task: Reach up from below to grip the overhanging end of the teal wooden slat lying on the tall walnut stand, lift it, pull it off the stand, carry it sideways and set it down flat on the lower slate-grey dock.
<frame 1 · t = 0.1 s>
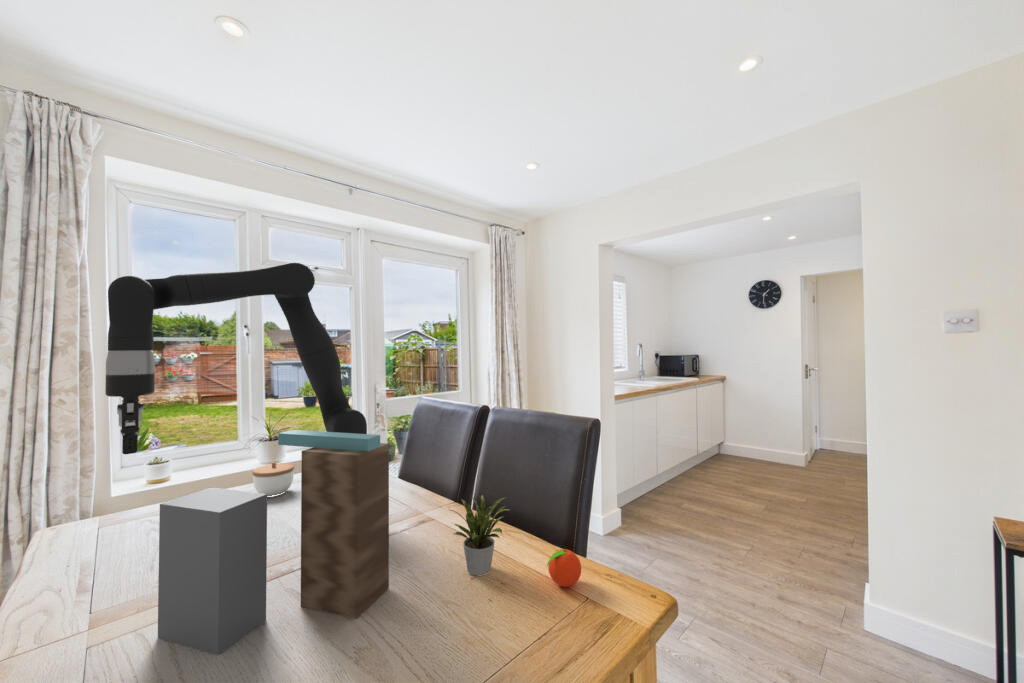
hand: (130, 450, 85), 29 cm above the table, tool pointing down, fingers open, 8 cm apart
house plant: (485, 570, 91), on the table
lidded bowl: (273, 494, 142), on the table
dock: (213, 628, 72), on the table
slat: (328, 445, 84), point 30 cm above the table, touching stand
stand: (319, 591, 83), on the table
clementine: (562, 585, 85), on the table
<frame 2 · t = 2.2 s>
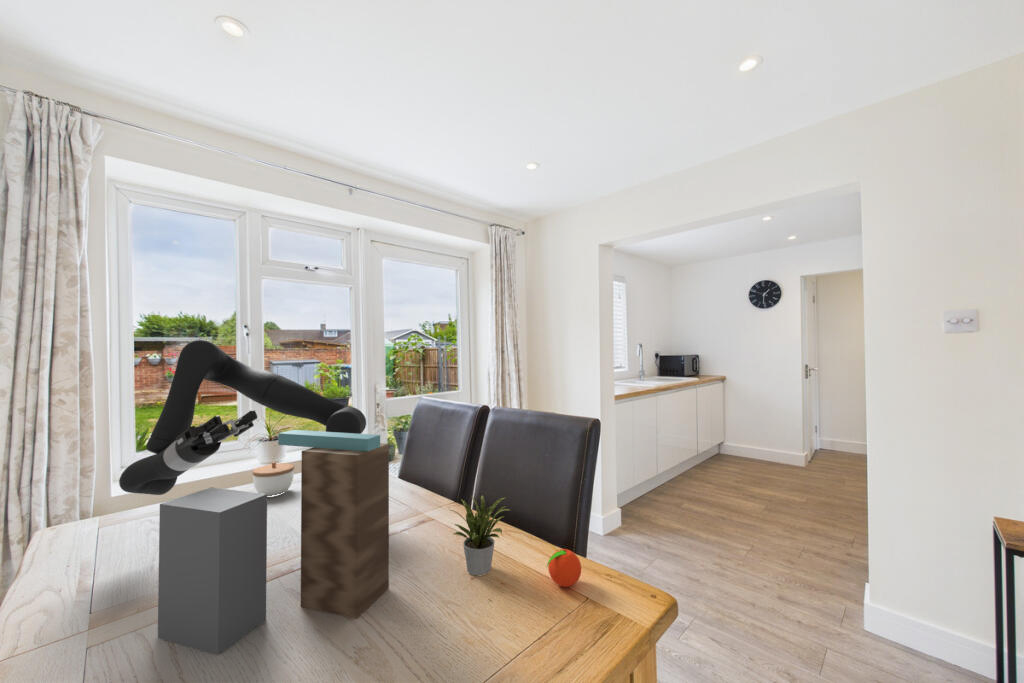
hand: (238, 416, 92), 35 cm above the table, tool pointing upward, fingers open, 8 cm apart
nothing on the table moved.
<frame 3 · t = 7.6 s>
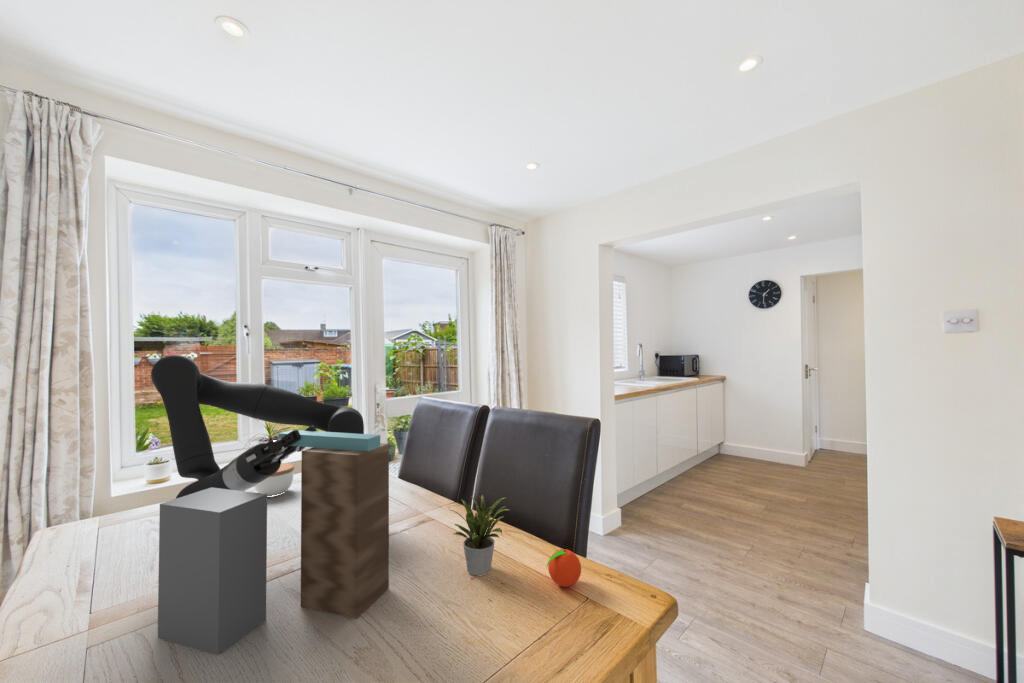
hand: (306, 431, 85), 33 cm above the table, tool pointing upward, fingers closed on slat, 4 cm apart
slat: (328, 445, 84), point 30 cm above the table, touching gripper, stand
everything else where it was.
when the fingers open (27 cm above the table, at t = 16.2 s): slat drops 2 cm, resting on dock.
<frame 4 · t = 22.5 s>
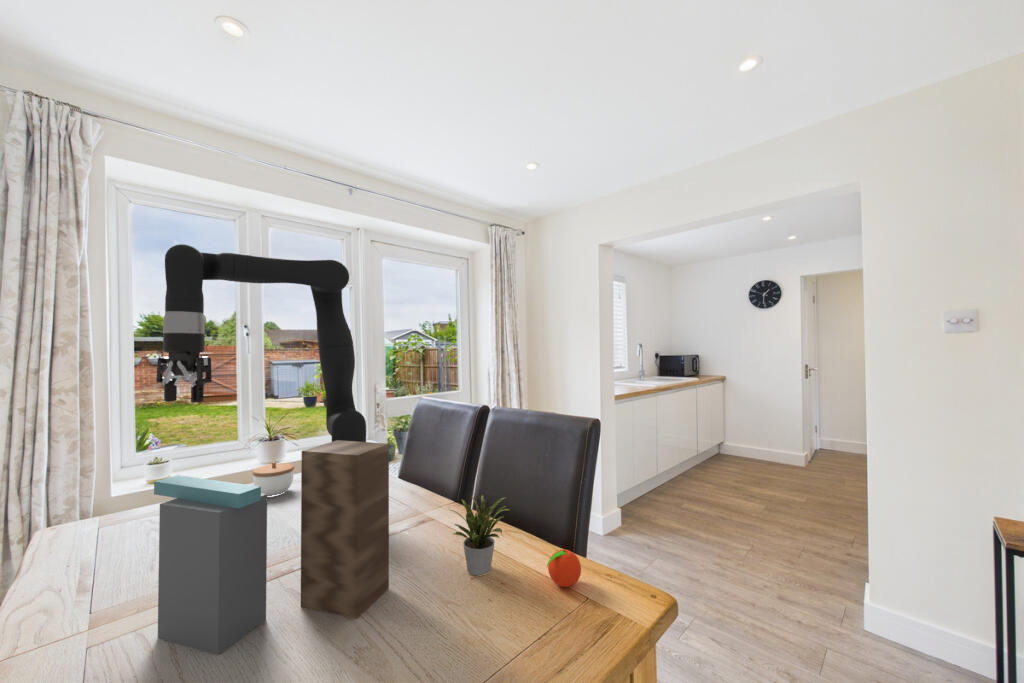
hand: (183, 401, 94), 38 cm above the table, tool pointing down, fingers open, 8 cm apart
slat: (206, 497, 74), point 23 cm above the table, touching dock
everything else where it was.
at the end: slat inside the target area on the dock (0.5 cm from its centre), point 23.0 cm above the dock's base; slat touching dock; the gripper is holding nothing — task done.
